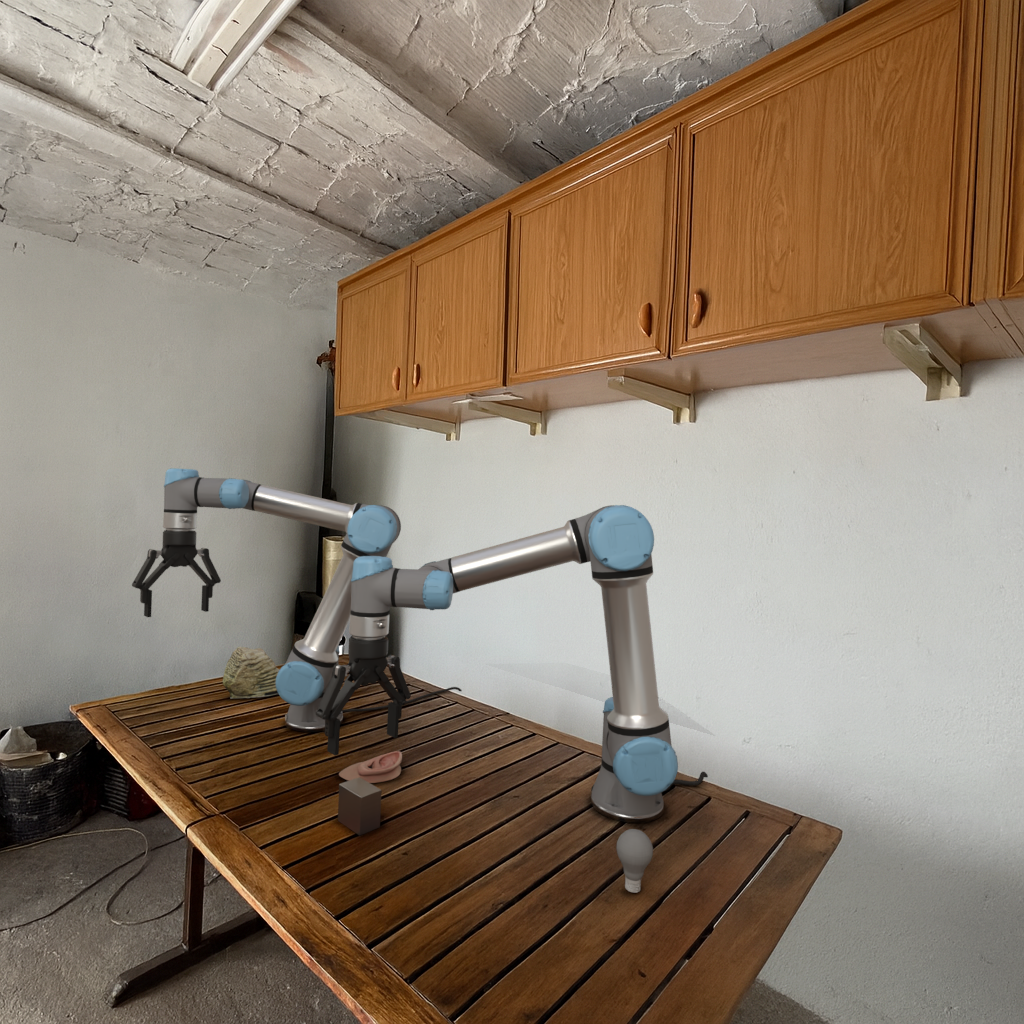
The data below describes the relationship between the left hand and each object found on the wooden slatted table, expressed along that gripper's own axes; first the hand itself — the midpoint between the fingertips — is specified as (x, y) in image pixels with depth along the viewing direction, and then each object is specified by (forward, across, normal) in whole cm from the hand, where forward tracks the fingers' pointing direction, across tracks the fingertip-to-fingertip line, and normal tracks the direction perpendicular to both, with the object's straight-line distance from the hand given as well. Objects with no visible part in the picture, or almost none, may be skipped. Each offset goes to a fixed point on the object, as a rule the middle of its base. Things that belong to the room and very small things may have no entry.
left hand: (177, 613), depth 160 cm
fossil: (+32, +31, +21) cm, 49 cm away
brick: (+32, +11, -67) cm, 75 cm away
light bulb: (+32, +31, -116) cm, 124 cm away
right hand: (+16, +11, -67) cm, 70 cm away
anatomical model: (+32, +25, -50) cm, 64 cm away
